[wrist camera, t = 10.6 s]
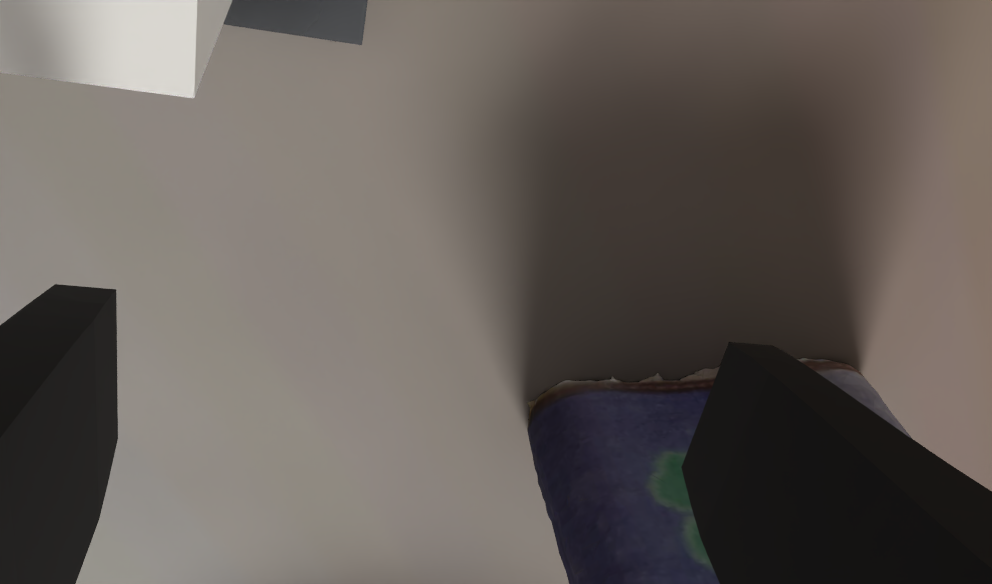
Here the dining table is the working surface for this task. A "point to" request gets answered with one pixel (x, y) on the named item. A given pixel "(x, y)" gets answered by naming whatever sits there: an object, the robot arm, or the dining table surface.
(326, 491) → the dining table surface
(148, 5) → the rail
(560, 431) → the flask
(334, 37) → the cup brackets
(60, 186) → the dining table surface
